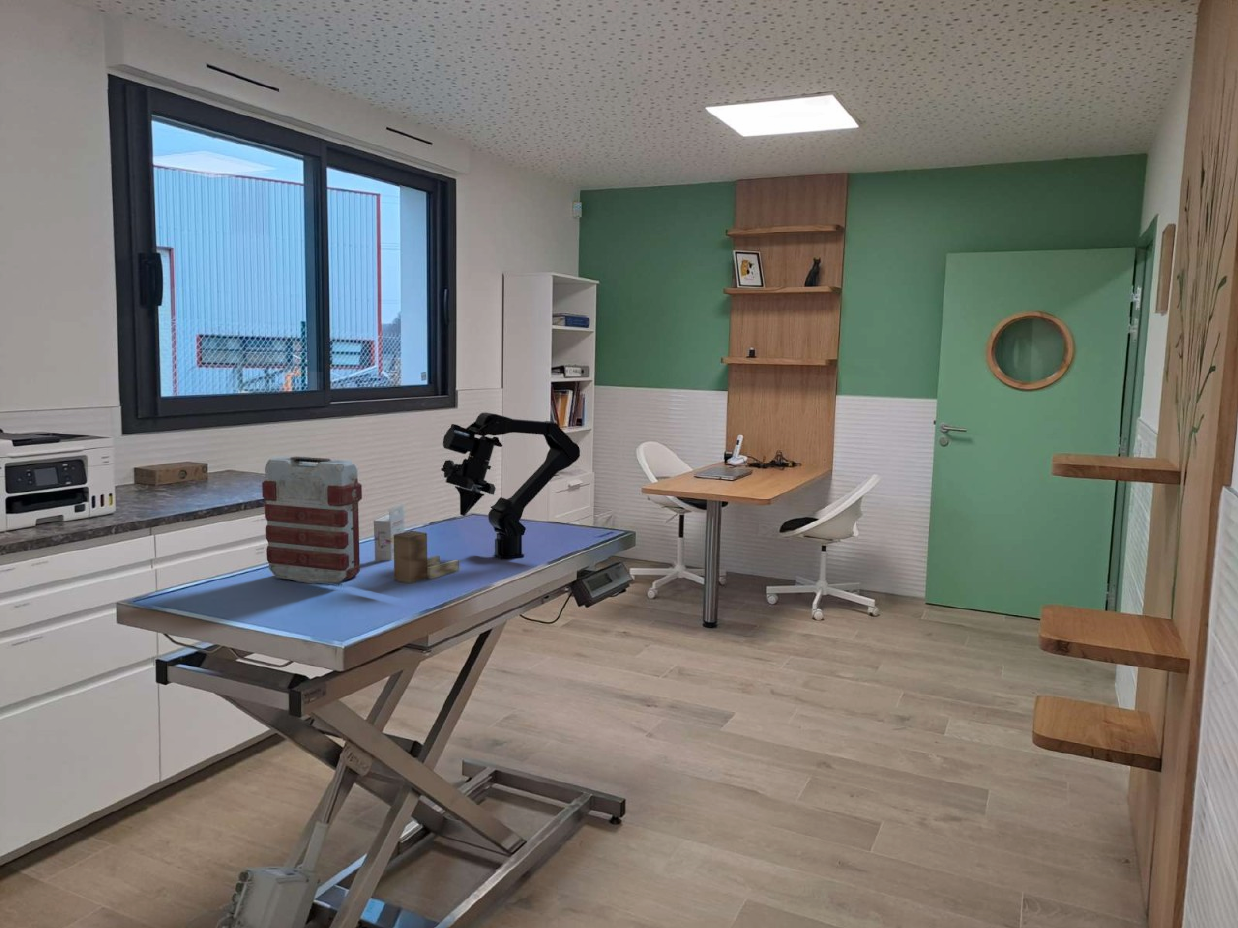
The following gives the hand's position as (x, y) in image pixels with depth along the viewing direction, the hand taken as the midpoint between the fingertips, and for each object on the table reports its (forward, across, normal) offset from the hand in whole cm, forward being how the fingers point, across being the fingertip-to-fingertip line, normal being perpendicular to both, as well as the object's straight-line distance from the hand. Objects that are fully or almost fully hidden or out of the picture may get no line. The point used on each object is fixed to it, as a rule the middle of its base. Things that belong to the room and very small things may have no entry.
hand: (462, 515), depth 239 cm
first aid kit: (+24, +25, -21) cm, 41 cm away
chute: (+16, +15, +3) cm, 23 cm away
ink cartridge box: (+17, +2, -15) cm, 23 cm away
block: (+17, +21, +2) cm, 27 cm away
